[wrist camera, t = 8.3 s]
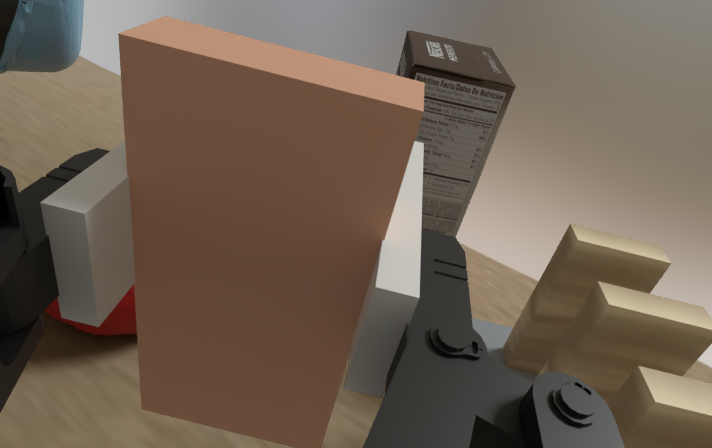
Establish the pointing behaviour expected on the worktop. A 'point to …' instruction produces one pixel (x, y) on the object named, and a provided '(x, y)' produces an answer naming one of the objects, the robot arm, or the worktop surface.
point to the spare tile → (254, 220)
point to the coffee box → (454, 120)
